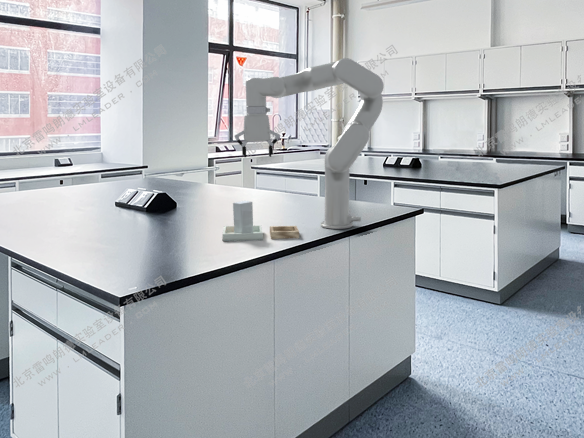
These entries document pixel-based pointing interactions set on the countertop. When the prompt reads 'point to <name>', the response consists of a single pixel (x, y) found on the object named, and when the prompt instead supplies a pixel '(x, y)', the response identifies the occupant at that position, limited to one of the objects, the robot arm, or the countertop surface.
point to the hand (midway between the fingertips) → (257, 156)
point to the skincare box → (243, 217)
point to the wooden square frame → (284, 232)
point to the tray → (242, 234)
